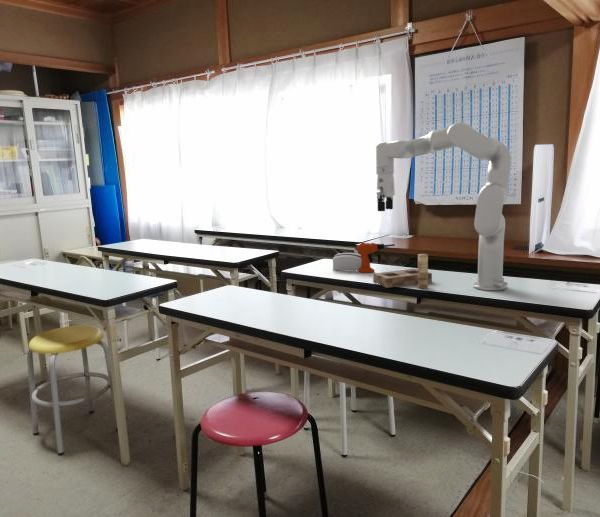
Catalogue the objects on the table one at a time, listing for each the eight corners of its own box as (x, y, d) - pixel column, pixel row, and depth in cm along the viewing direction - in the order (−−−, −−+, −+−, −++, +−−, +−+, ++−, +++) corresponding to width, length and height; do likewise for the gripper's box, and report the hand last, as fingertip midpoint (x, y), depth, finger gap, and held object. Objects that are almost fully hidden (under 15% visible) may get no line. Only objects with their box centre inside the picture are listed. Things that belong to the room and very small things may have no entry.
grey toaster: (367, 269, 259) (365, 251, 254) (365, 274, 255) (363, 256, 250) (335, 268, 265) (333, 250, 260) (332, 272, 261) (330, 255, 256)
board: (431, 282, 226) (431, 273, 225) (386, 287, 219) (386, 278, 218) (416, 277, 237) (416, 268, 236) (373, 282, 230) (373, 273, 229)
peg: (429, 288, 215) (430, 255, 213) (421, 289, 214) (421, 255, 211) (424, 286, 219) (424, 253, 217) (415, 287, 218) (415, 254, 215)
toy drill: (397, 270, 245) (393, 239, 243) (358, 274, 251) (353, 244, 249) (398, 268, 250) (394, 238, 248) (359, 272, 255) (355, 242, 253)
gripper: (386, 171, 218) (386, 212, 221) (400, 170, 233) (400, 208, 236) (369, 171, 222) (369, 211, 225) (384, 170, 236) (384, 208, 239)
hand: (385, 210), depth 230 cm, fingers open, 9 cm apart
